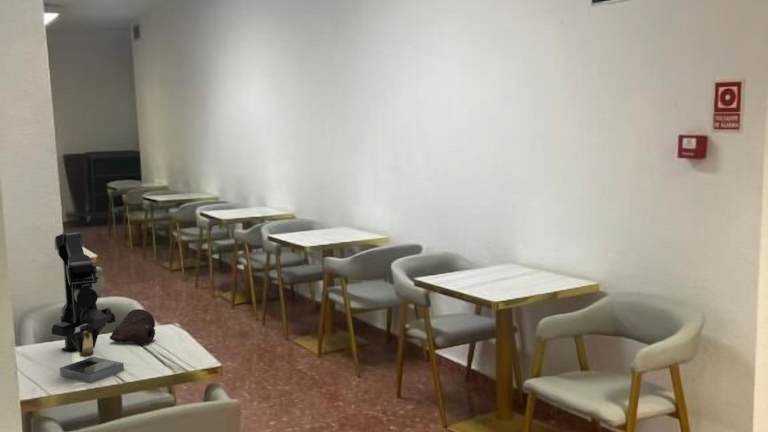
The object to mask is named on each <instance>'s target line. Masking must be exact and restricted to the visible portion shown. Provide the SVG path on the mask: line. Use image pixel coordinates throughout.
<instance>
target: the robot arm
mask: <svg viewBox="0 0 768 432" xmlns="http://www.w3.org/2000/svg"><path fill="white" fill-rule="evenodd" d="M84 240H85V239H84V234H83V233H80V231H78V230H70V231H64V232H62V233H61V234H59V235H56V236H55V237H54V249H55V250H56V251H57V254H58V256H59V257H60V259H61V260H62V262H63V263H62V265H63V278H64V279H63V280H64V291H65V294H64V295H65V303H64V305H63V307H62V308H61V316H59V323H56V324H55V323H54V324H53V325H52V327H51V334H52V335H55V336H61V337H64V345H65V346H64V347H61V351H65V352H66V351H67V352H69V353H70V352H71V353H75V352H78V353H79V354H80V353H82V340H81V336H82V334H83V332H82V331H92V335H93V349H95V347H96V344H97V340H98V337H99V334H100V332H101V330H103V329H104V328H106V326H107V324H112V323H116V322H117V321H116V315H115V313H114V312H112V310H111V308H109V307H105V308H103V309H98V306H97V302H98V294H97V292H96V291H95V289H94V288H93V284H97V283H98V280H99V275H98V269H97V265H95V262H93V261H92V259H91V257H90V256H89V255H87V254H85V252H84V249H83V248H84V246H85V242H84Z"/></svg>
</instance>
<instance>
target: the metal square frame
mask: <svg viewBox="0 0 768 432" xmlns="http://www.w3.org/2000/svg"><path fill="white" fill-rule="evenodd" d="M124 366H125V365H124V362H121V361H114V360H109V359H106V358H101V357H97V356H90V357H87V358H85V359H82V360H79V361H76V362H73V363H70V364H67V365H64V366H61V367H59V372H60V373H59V374H60V377H64V378H69V379H72V380H77V381H79V382H80V381H81V382H84V383H89V384H92V383H95V382H97V381H101V380H103V379H106V378H109V377H111V376H114V375H116V374H119V373H123V372H124V371H125V369H124V368H125V367H124Z"/></svg>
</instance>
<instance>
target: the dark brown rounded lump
mask: <svg viewBox="0 0 768 432" xmlns="http://www.w3.org/2000/svg"><path fill="white" fill-rule="evenodd" d="M155 326H156V321H155V318H154V316H153V315H152V313H150V312H149V311H147V310H145V309H141V308H139V309H138V308H136V309H133V310H130V311H129V312H128V313H127V315H125V317H124V318H123V320H122V322H120V324H119V325H117V326H116V327H115V328H114V330H113V331H112V333H111V334H110V336H109V340H112V341H113V342H116V343H124V344H125V343H132V344H138V345H140V346H141V345H143V346H144V345H148V344H150V343H152V342H153V341H154V339H155V335H156V329H155Z"/></svg>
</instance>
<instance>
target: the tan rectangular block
mask: <svg viewBox="0 0 768 432" xmlns="http://www.w3.org/2000/svg"><path fill="white" fill-rule="evenodd" d="M82 332H83V334H82V336H81V340H82V353H79V357H82V358H86V357H87V358H89V357H93V356H94V354H95V353H94V352H95V350H94V349H95V348H94V349H93V335H92V331H82Z"/></svg>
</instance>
